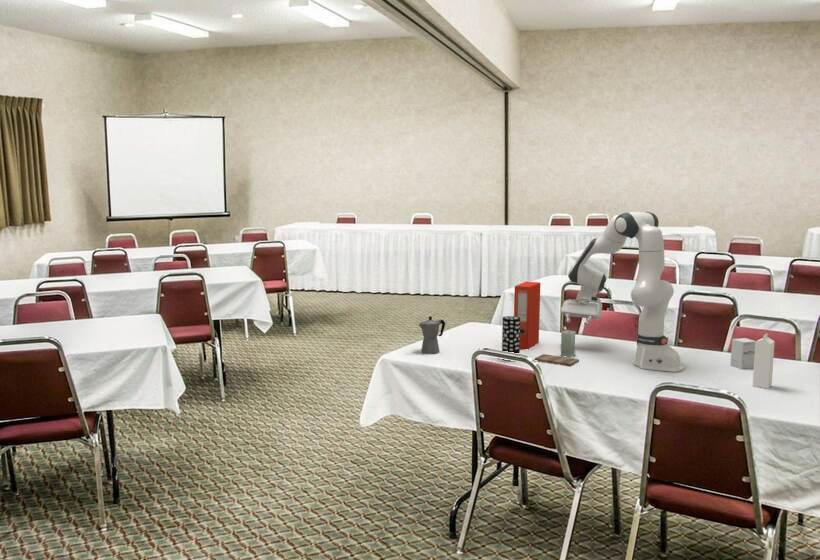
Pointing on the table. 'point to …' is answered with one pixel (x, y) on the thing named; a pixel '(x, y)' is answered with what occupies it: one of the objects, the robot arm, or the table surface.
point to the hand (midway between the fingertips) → (576, 323)
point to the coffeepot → (431, 335)
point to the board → (557, 360)
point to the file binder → (528, 312)
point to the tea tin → (568, 343)
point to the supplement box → (743, 353)
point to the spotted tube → (511, 334)
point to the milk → (763, 362)
